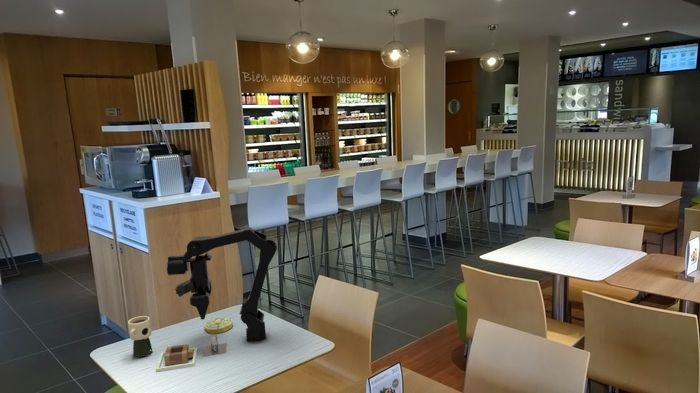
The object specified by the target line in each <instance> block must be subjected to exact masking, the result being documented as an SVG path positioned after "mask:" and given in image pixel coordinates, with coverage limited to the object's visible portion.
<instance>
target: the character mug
mask: <svg viewBox="0 0 700 393" xmlns="http://www.w3.org/2000/svg"><path fill="white" fill-rule="evenodd" d="M127 325H128V332H129V334H128V335H129V338H130V340H131V341H133V342H132V344H133V345H132V346H133V348H132V355H133V356H135V357H146V356H148V355H150V354H151V352H153V348H152V343H151V340H150V337H151V335H152V329H151V319H150V316H147V315H140V316H136V317H132V318H130V319H129V320H128V321H127Z"/></svg>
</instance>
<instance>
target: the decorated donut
mask: <svg viewBox="0 0 700 393" xmlns="http://www.w3.org/2000/svg"><path fill="white" fill-rule="evenodd" d="M233 325H234V323H233V320H232V319H231V318H227V317H218V318H214V319H211V320H208V321H207V322H206V323H205V324H204V326H203V328H204V331H205V332H206V333H207V334H211V335H217V334H223V333H226V332H228V331H230V330H231V329H232V327H233Z"/></svg>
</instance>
